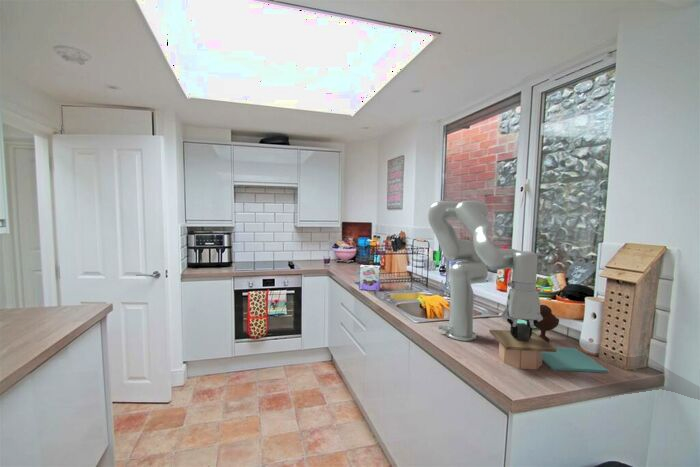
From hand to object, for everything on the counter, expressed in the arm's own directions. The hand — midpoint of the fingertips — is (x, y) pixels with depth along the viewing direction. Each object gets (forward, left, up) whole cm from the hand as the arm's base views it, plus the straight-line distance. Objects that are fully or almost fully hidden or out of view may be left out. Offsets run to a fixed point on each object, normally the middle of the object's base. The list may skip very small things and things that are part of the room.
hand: (520, 336), depth 116 cm
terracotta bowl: (0, 0, -9) cm, 9 cm away
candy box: (-55, +101, -9) cm, 115 cm away
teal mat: (+17, +3, -9) cm, 19 cm away
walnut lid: (0, 0, -2) cm, 2 cm away
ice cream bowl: (+19, +22, -9) cm, 30 cm away
